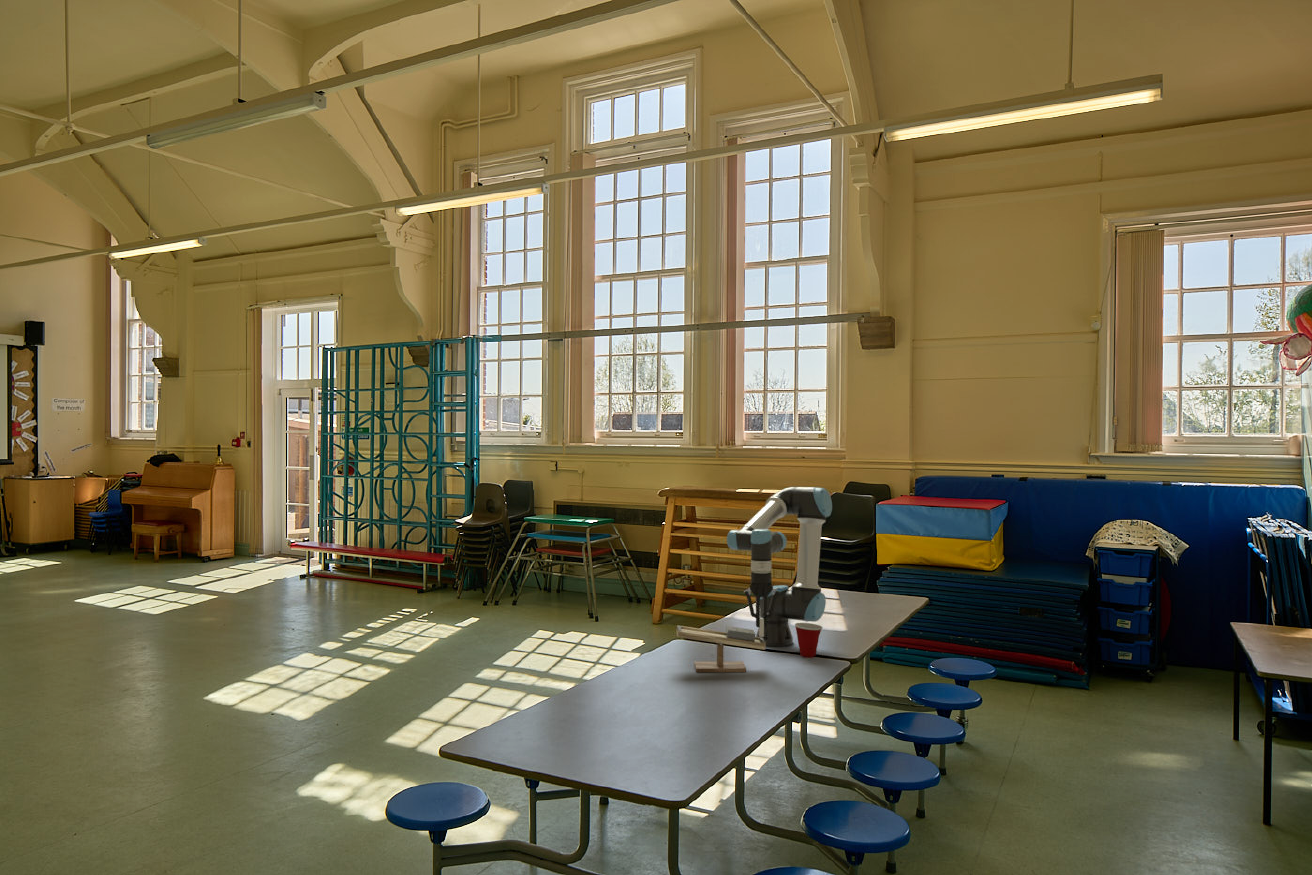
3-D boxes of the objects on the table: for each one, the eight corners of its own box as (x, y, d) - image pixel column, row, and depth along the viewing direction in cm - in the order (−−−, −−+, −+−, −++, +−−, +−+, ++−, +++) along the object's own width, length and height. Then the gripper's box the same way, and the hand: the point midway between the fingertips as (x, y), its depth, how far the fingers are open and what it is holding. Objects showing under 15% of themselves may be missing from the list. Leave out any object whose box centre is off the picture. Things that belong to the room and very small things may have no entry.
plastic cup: (825, 659, 334) (824, 627, 334) (796, 659, 335) (796, 627, 335) (820, 652, 345) (820, 621, 345) (792, 652, 346) (792, 621, 346)
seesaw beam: (676, 633, 326) (677, 624, 326) (761, 645, 327) (762, 637, 327) (677, 639, 316) (678, 630, 316) (764, 652, 317) (766, 643, 317)
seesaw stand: (694, 664, 326) (694, 640, 326) (742, 664, 327) (742, 640, 327) (696, 672, 316) (696, 647, 316) (746, 671, 317) (746, 647, 317)
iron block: (725, 635, 325) (726, 625, 325) (751, 639, 325) (753, 629, 325) (726, 639, 318) (728, 630, 318) (754, 643, 318) (755, 633, 318)
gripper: (744, 573, 318) (744, 638, 318) (780, 573, 318) (780, 638, 318) (742, 570, 325) (742, 633, 325) (777, 570, 326) (777, 633, 326)
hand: (761, 635), depth 322 cm, fingers closed
